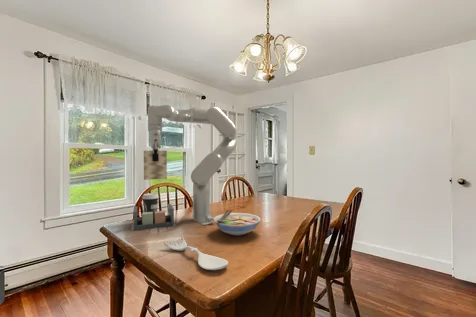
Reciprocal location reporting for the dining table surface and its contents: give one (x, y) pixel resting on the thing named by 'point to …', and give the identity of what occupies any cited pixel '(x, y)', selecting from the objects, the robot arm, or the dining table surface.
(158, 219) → the terracotta offcut
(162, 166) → the birch sheet
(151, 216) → the sage offcut
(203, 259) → the white spork utensil
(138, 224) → the offcut rack
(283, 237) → the dining table surface
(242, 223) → the ramen bowl
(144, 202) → the coffee cup
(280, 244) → the dining table surface
